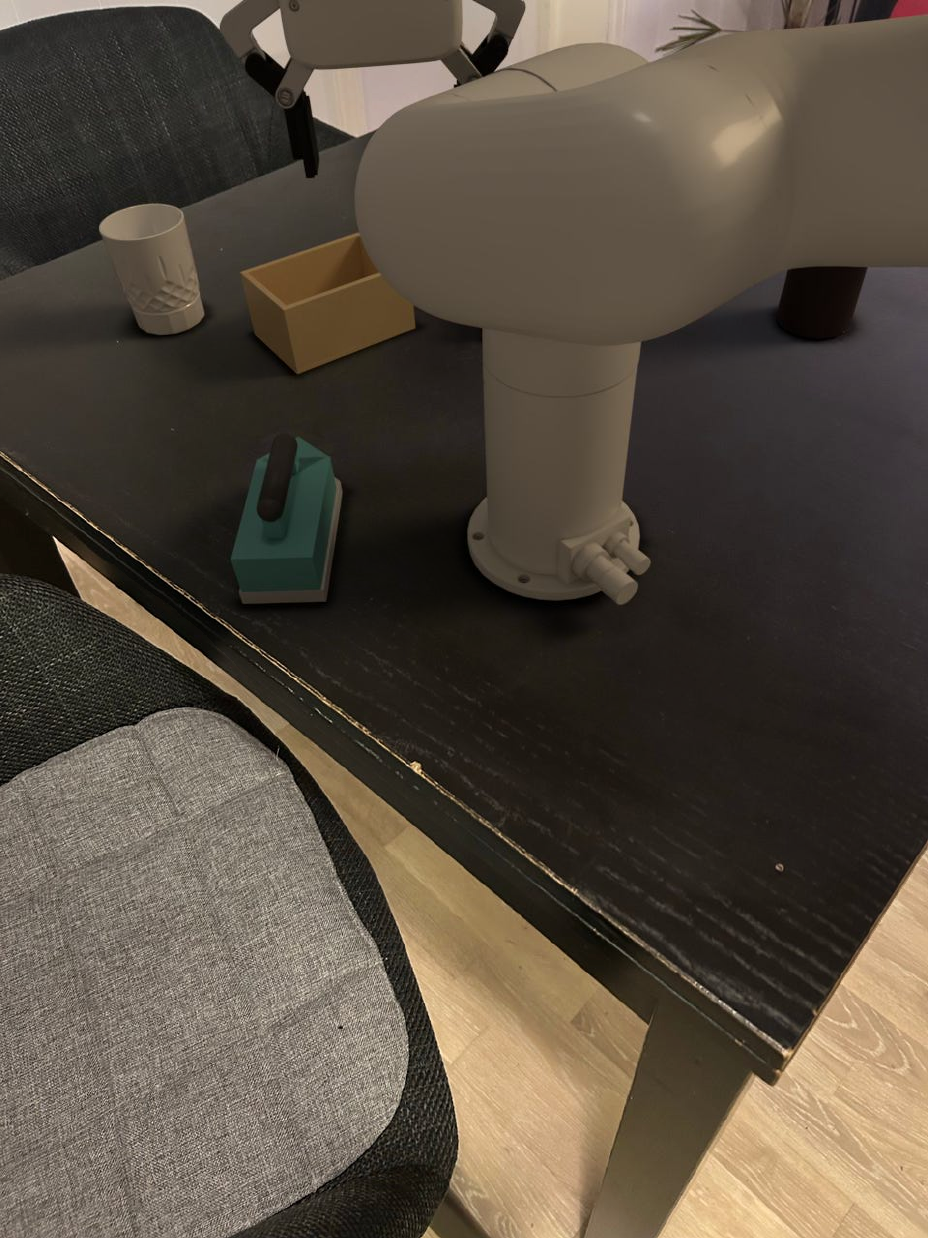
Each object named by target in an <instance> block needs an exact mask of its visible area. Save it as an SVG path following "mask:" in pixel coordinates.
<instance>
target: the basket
mask: <svg viewBox="0 0 928 1238" xmlns="http://www.w3.org/2000/svg"><path fill="white" fill-rule="evenodd" d="M239 274H240V278H241V282H242V287H243V290H244V295H245V298H246V299H245V300H246V304H247V308H248V312H249V316H250V319H251V324H252V327H253V328H252V329H253V332H254V336H256V337H257V338H258V339H259V340H260V341H261V342H262V343H263V344H264V345H265V346H266V347H267V348H269V350H271V351H272V352H273V353H274V354H275V355H276V356H277V357H278V358H279V359H280V360H281V361H282V362H283V363H284V364H285V365H286V366H288V367H289V368H290V369H291V370H292V371H293V372H294V373H295V374H296V375H299V374H302V373H305V372H307V371H310V370H312V369H315V368H317V367H320V366H322V365H325V364H328V363H330V362H333V361H335V360H338V359H340V358H342V357H345V356H348V355H351V354H353V353H355V352H359V351H361V350H363V349H366V348H369V347H371V346H374V345H376V344H378V343H381V342H383V341H387V340H389V339H392V338H395V337H397V336H399V335H401V334H404V333H407V332H410V331H412V330H415V329H416V319H415V310H414V305H413V304H411V303H410V302H409V301H407V300H406V299H404V298H403V297H402V296H401V295H400V294H398V293H397V292H396V291H395V290H394V289H393V288H392V287H391V286H390V285H389V284H388V283H387V282H386V280H385V279H384V278H383V277H382V276H381V274H380V273H379V272H378V270H377V269H376V267H375V266H374V264H373V263H372V261H371V259H370V257H369V255H368V253H367V251H366V249H365V247H364V244H363V242H362V239H361V236H360V233H359V231H358V232H355V233H352V234H349V235H346V236H343V237H340V238H337V239H333V240H331V241H328V242H326V243H322V244H318V245H316V246H313V247H311V248H308V249H304V250H302V251H298V252H295V253H292V254H290V255H287V256H284V257H281V258H277V259H275V260H272V261H269V262H265V263H262V264H260V265H257V266H254V267H251V268H247V269H245V270H242V271H240V272H239Z"/></svg>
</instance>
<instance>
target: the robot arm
mask: <svg viewBox="0 0 928 1238" xmlns="http://www.w3.org/2000/svg"><path fill="white" fill-rule="evenodd" d="M472 1H473V2H475V3H476V4H478V5H480V6H482V7H484V8H486V9H488V10H490V11H491V12H493V13H494V19H493V22H492V25H491V28H490V31H489V32H488V33H487V34H486V36H485V37H484V38H483V40H482V41H481V42H480V43H479V45H478V46H477V48H475V50H474V51H473V52H471V50H470V49H469V48H468V47H467V45H466V44H465V43H464V42H463V41H462V39H463V23H464V22H463V21H464V20H463V19H464V15H463V14H464V13H463V12H464V11H463V9H464V8H463V0H241V1H240V2H239V3H238V4H236V5H235V6H234V7H232V8H231V9H230V10H229V11H227V12H226V13H225V14H224V15H223V17H222V18H221V20H220V22H219V32H220V34H221V36H222V37H223V39H224V40H225V41H226V43H227V45H228V46H229V47H230V49H231V51H232V52H233V53H234V55H235V56H236V58H237V59H238V60H239V61H240V62H241V64H242V65H243V67H244V69H245V72H246V74H247V76H249V77H250V78H251V79H252V80H253V81H254V82H255V83H256V84H258V85H259V86H260V87H261V88H262V89H263V90H264V91H266V92H267V93H268V94H270V95H271V96H272V97H273V98H274V99H275V101H276V103H277V105H278V106H279V107H280V108H282V109H283V112H284V117H285V118H284V119H285V122H286V128H287V134H288V139H289V145H290V152H291V155H292V156H291V157H292V159H293V161H296V160H297V161H298V160H302V163H303V169H304V174H305V178H306V179H315V178H316V176H318V175H319V167H320V154H319V148H318V147H319V146H318V140H317V134H316V127H315V123H314V122H315V121H314V116H313V109H312V103H311V97H310V95H309V94H308V95H307V91H306V90H305V87H306V86H307V84H308V82H309V80H310V79H311V76H312V75H313V72H314V71H315V70H318V71H323V70H325V71H326V70H345V69H358V68H372V67H386V66H397V65H398V66H399V65H411V64H422V63H423V64H424V63H431V62H436V61H440V62H441V63H442V64H443V65H444V66H445V67H446V69H448V71H449V72H450V74H451V75H452V76H453V77H454V78H455V79H456V84H453V87H452V88H450V89H447V90H444V91H442V92H439V93H436V94H433V95H431V96H428V97H425V98H423V99H420V100H418V101H415V102H413V103H411V104H409V105H407V106H404V107H403V108H401V109H399V110H397V111H396V112H395V113H393V114H391V115H390V116H389V117H388V118H387V119H385V120H384V122H382V124H381V125H379V127H378V128H377V129H376V130H375V132H374V134H373V135H372V137H371V138H370V139H369V141H368V143H367V145H366V146H365V149H364V151H363V153H362V156H361V158H360V161H359V165H358V169H357V172H356V178H355V182H354V183H355V184H354V196H353V197H354V199H353V200H354V201H353V202H354V214H355V222H356V225H357V229H358V232H359V233H360V236H361V239H362V242H363V244H364V247H365V249H366V251H367V253H368V255H369V257H370V259H371V261H372V263H373V264H374V266H375V267H376V269H377V270H378V272H379V273H380V274H381V276H382V277H383V278H384V279H385V280H386V282H387V283H388V284H389V285H390V286H391V287H392V288H393V289H394V290H395V291H396V292H397V293H398V294H400V295H401V296H402V297H403V298H404V299H406V300H407V301H409V302H410V303H411V304H413V307H416V308H418V309H419V310H421V311H423V312H425V313H427V314H429V315H431V316H434V317H436V318H437V319H438V318H439V319H442V320H444V321H447V322H451V323H454V324H459V325H464V326H469V327H474V328H480V329H481V328H483V330H482V332H481V333H482V334H481V336H482V338H481V339H482V340H481V341H482V383H483V385H482V387H483V413H484V414H483V415H484V441H485V442H484V444H485V468H486V469H485V471H486V473H485V474H486V497H485V498H484V499H482V500H481V501H480V503H479V504H478V505H477V506H476V507H475V508H474V511H473V512H472V515H471V516H470V518H469V521H468V526H467V530H466V532H467V535H466V536H467V548H468V552H469V556H470V558H471V560H472V562H473V564H474V566H475V567H476V568H477V569H478V571H479V572H480V573H481V574H482V575H483V577H485V578H486V579H488V581H490V582H491V583H492V584H494V585H496V586H498V587H499V588H501V589H503V590H505V591H507V592H509V593H513V594H515V595H519V596H521V597H523V598H524V597H525V598H529V599H530V598H531V599H535V600H540V601H541V600H543V601H566V600H576V599H579V598H585V597H588V596H592V595H594V594H597V593H600V592H603V593H604V594H605V595H606V596H607V597H608V598H609V599H611V600H612V601H613V602H614V603H615V604H616V605H618V606H623V605H625V604H628V602H629V601H630V600H632V599H633V598H634V596H635V594H636V593H637V591H638V588H639V584H638V582H637V581H636V580H635V579H634V578H633V577H631V576H630V575H629V574H627V573H628V572H629V571H631V572H632V573H633V574H635V575H637V576H641V575H643V574H645V573H646V572H647V570H648V569H649V568H650V566H651V564H652V561H651V559H650V558H649V557H648V556H647V555H645V553H643V552H642V551H640V550H639V546H640V539H641V535H640V534H641V533H640V527H639V526H640V525H639V523H638V521H637V518H636V516H635V514H634V512H633V511H632V510H631V508H630V507H629V505H628V504H627V503H626V502H625V501H623V493H624V485H625V476H626V470H627V469H626V467H627V461H628V460H627V459H628V451H629V444H630V443H629V442H630V435H631V426H632V425H631V424H632V417H633V409H634V400H635V391H636V381H637V373H638V365H639V361H640V356H641V355H640V354H641V347H642V342H646V341H650V340H654V339H658V338H660V337H664V336H666V335H668V334H671V333H673V332H675V331H676V332H677V331H678V330H680V329H682V328H684V327H687V326H688V325H690V324H692V323H694V322H696V321H697V320H699V319H701V318H702V317H704V316H705V315H707V314H709V313H711V312H712V311H714V310H715V309H717V308H718V307H720V306H722V305H723V304H725V303H726V302H728V301H730V300H731V299H732V298H734V297H736V296H738V295H739V294H741V293H743V292H745V291H746V290H748V289H749V288H751V287H753V286H756V285H757V284H759V283H760V282H763V281H765V280H767V279H769V278H772V277H773V276H775V275H778V274H780V273H783V272H787V270H789V269H793V268H804V267H814V266H848V267H868V268H928V13H927V14H918V15H912V16H911V15H910V16H901V17H893V18H885V19H876V20H867V21H859V22H850V23H842V24H841V23H840V24H831V25H824V26H823V25H822V26H816V27H815V26H813V27H800V28H799V27H796V28H785V29H784V28H781V29H761V30H760V29H759V30H747V31H746V30H745V31H738V32H732V33H728V34H724V35H719V36H716V37H713V38H710V39H707V40H705V41H701V42H698V43H695V44H692V45H690V46H687V47H684V48H682V49H680V50H678V51H675V52H672V53H670V54H667V55H666V56H662V57H660V58H658V59H655V60H653V61H648V60H647V59H646V58H645V57H644V56H642V55H641V54H639V53H637V52H636V51H634V50H631V49H630V48H628V47H624V46H622V45H617V44H613V43H609V42H585V43H584V42H582V43H576V44H575V43H574V44H571V45H567V46H562V47H558V48H554V49H552V50H549V51H546V52H543V53H540V54H538V55H536V56H533V57H530V58H527V59H523V60H521V61H519V62H516V63H513V64H510V65H508V66H505V67H501V68H499V66H500V65H501V64H502V63H503V61H504V60H505V59H506V57H507V56H508V55H509V49H510V46H511V44H512V41H513V40H514V38H515V36H516V33H517V31H518V28H519V26H520V24H521V22H522V19H523V17H524V14H525V13H526V9H527V8H526V7H527V6H526V2H525V0H472ZM279 10H280V11H279ZM277 11H279V12H280V17H281V23H282V24H281V25H282V30H283V35H284V40H285V45H286V48H287V51H288V55H289V59H288V60H287V62H286V64H285V65H284V66H282V65H281V63H279V62H278V61H276V60H275V59H274V58H273V57H272V56H271V55H269V54H268V53H267V52H266V51H265V50H264V49H263V48H262V47H261V45H260V44H259V43H258V40H257V39H256V37H255V35H254V33H253V30H254V29H255V28H257V27H258V26H260V24H262V23H263V22H264V21H266V20H267V19H268V18H269V17H271V16H272V15H273V14H275V13H276V12H277ZM498 68H499V69H498Z"/></svg>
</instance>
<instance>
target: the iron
mask: <svg viewBox="0 0 928 1238" xmlns="http://www.w3.org/2000/svg"><path fill="white" fill-rule="evenodd" d="M342 499H343V488H342V482H341V481H340V480H339V478H337V477H335V474H334V469H333V463H332V459H331V456H330V455H329V456H328V455H327V454H326V453H324V452H322V451H321V450H319V449H318V448H316V447H315V446H313V445H311V443H309V442H307V441H305V440H304V439H303V438H301V437H300V436H297V437H294V436H293V435H292V434H290V433H287V432H281V433H279V434H277V435H275V437H274V438H273V440H272V443H271V448H270V450H269V453H266V454H265V455H263V456H261V457H259V458H257V459H256V462H255V466H254V468H253V473H252V477H251V481H250V484H249V488H248V491H247V496H246V500H245V504H244V508H243V511H242V514H241V518H240V523H239V526H238V530H237V534H236V536H235V541H234V544H233V548H232V553H231V557H230V561H231V562H230V563H231V565H232V568H233V571H234V575H235V577H236V580H237V583H238V587H239V589H238V595H239V598H240V600H241V603H242V604H243V605H250V604H251V605H252V604H253V605H254V604H255V605H257V604H284V603H285V604H286V603H287V604H288V603H289V604H290V603H320V602H321V603H324V602H327V599H328V593H329V586H330V580H331V579H330V578H331V572H332V565H333V560H334V559H333V558H334V552H335V546H336V539H337V533H338V525H339V520H340V512H341V507H342V506H341V505H342Z"/></svg>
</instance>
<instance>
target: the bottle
mask: <svg viewBox="0 0 928 1238" xmlns="http://www.w3.org/2000/svg"><path fill="white" fill-rule="evenodd" d="M868 269H869V267H848V266H814V267H804V268H793V269H789V270H786V273H785V278H784V282H783V287H782V290H781V295H780V299H779V303H778V308H777V313H776V319H777V320H776V321H777V322H778V324H779V325H780V326H781V327H782V328H783V329H784V330H785V331H786V332H789V333H791V334H793V335H795V336H798V337H802V338H806V339H814V340H819V339H820V340H821V339H829V338H834V337H837V336H840V335H842V334H843V333H845V332H846V331H847V330H848V329H849V327H850V326H851V324H852V321H853V318H854V314H855V311H856V308H857V305H858V301H859V298H860V294H861V292H862V289H863V285H864V283H865V282H864V281H865V278H866V275H867V272H868Z"/></svg>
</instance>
